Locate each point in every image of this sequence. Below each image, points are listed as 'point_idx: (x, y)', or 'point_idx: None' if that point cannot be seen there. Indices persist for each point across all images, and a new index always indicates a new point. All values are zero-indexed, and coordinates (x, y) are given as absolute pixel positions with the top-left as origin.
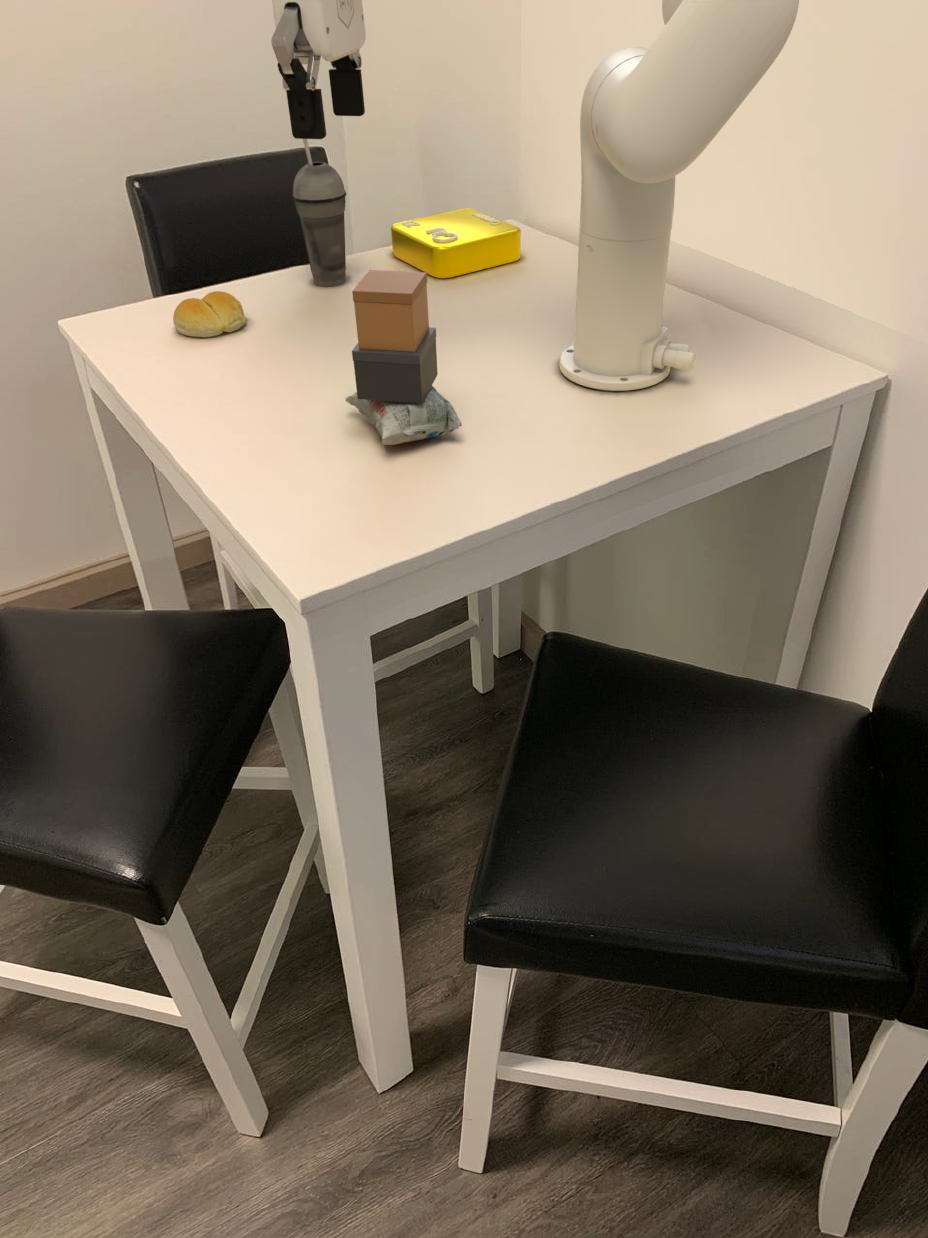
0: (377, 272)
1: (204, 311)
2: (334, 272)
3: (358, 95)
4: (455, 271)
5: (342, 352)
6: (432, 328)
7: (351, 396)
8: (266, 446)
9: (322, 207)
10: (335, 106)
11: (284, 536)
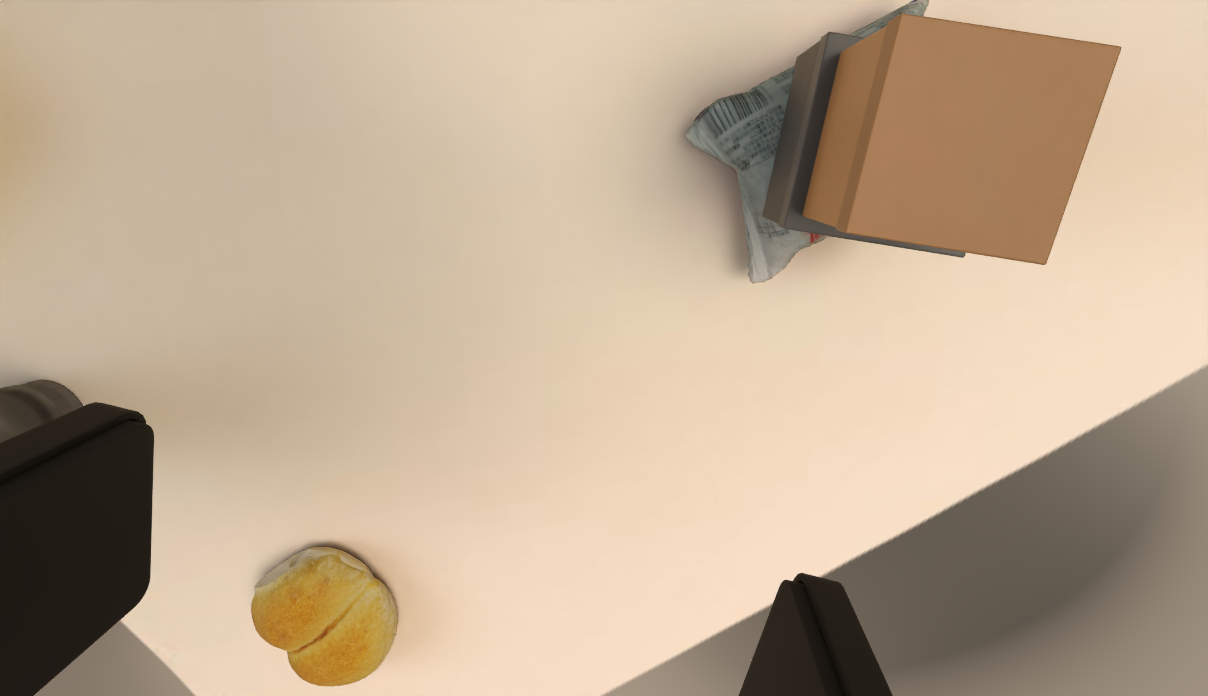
0: (879, 201)
1: (357, 632)
2: (52, 408)
3: (44, 485)
4: None
5: (444, 329)
6: (836, 41)
7: (784, 267)
8: (862, 408)
9: None
10: (111, 612)
11: (1197, 320)
